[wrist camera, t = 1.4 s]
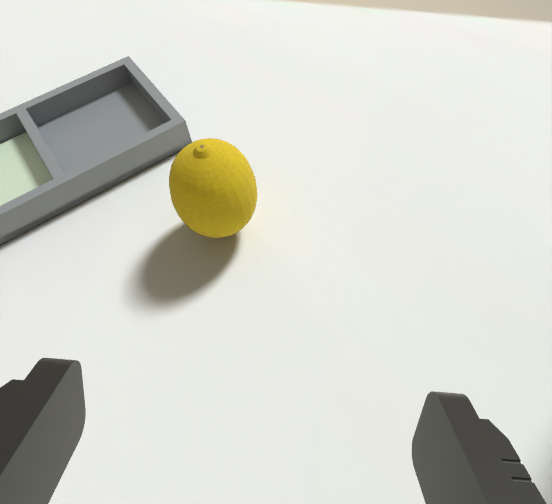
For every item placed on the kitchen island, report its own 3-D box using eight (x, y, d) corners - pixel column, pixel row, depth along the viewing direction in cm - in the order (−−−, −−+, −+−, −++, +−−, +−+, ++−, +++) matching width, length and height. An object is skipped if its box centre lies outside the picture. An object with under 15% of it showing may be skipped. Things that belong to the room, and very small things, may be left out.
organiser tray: (137, 79, 42) (128, 56, 40) (192, 144, 37) (185, 120, 35) (-85, 183, 37) (-110, 162, 35) (-56, 274, 32) (-82, 256, 30)
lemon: (247, 266, 30) (228, 192, 24) (174, 248, 32) (136, 172, 25) (272, 204, 33) (262, 121, 26) (204, 189, 34) (178, 106, 28)
